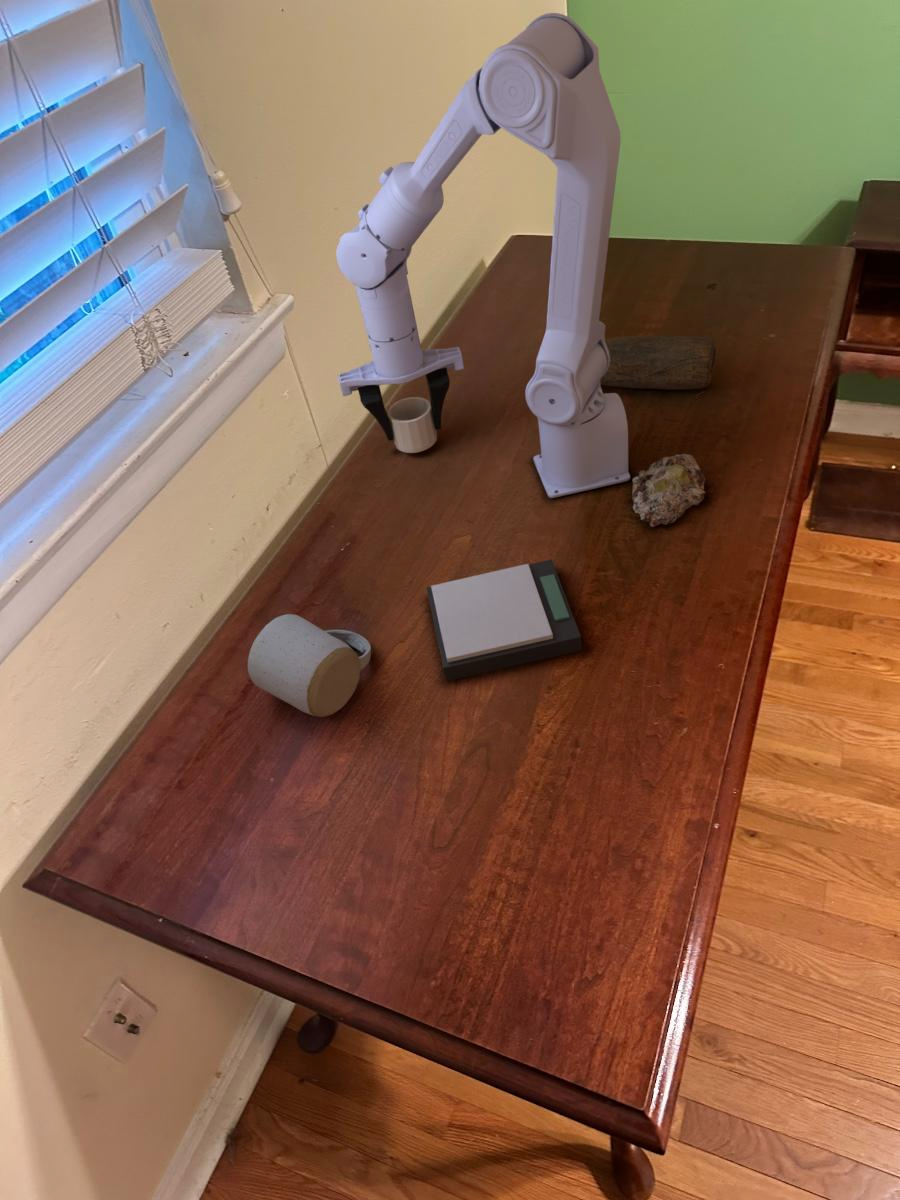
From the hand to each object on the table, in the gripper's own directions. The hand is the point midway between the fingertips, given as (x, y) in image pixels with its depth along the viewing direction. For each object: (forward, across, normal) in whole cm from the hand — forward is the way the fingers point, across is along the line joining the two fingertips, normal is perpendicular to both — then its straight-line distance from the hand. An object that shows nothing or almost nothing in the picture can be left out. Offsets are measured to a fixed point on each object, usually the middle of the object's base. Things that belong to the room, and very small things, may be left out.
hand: (414, 430), depth 105 cm
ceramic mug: (+3, +14, +35) cm, 38 cm away
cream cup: (+1, 0, 0) cm, 1 cm away
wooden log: (+3, -31, -2) cm, 31 cm away
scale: (+3, -4, +33) cm, 33 cm away
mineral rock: (+3, -25, +20) cm, 32 cm away
